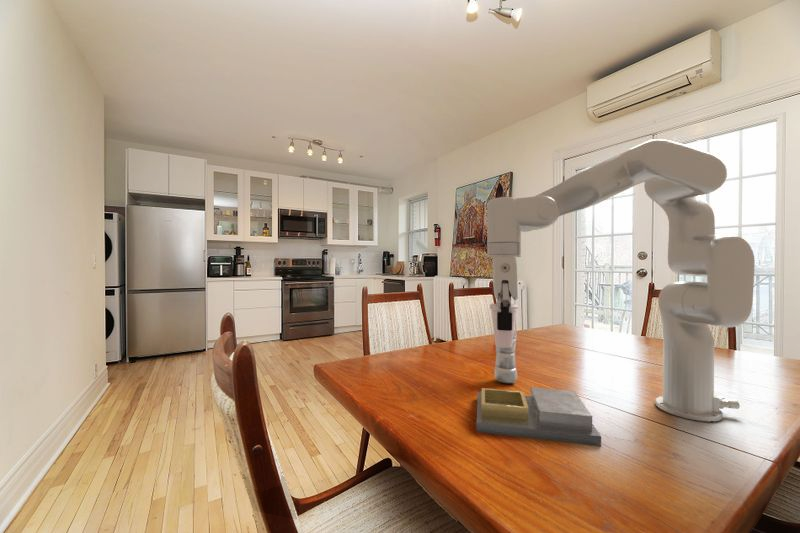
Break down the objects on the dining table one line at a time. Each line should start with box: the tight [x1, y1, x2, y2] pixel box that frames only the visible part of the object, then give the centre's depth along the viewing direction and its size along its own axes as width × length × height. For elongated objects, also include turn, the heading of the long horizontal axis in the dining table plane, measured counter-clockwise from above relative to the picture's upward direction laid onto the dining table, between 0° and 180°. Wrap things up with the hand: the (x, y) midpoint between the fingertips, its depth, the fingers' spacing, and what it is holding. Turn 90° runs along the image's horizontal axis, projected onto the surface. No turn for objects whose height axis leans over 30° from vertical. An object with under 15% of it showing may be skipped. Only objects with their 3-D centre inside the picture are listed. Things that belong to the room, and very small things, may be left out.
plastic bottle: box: [493, 328, 518, 384], centre depth 102 cm, size 6×7×20 cm
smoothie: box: [489, 302, 519, 348], centre depth 79 cm, size 6×6×14 cm
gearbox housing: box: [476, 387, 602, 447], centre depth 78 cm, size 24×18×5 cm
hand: (503, 326), depth 79 cm, fingers closed on smoothie, 6 cm apart
